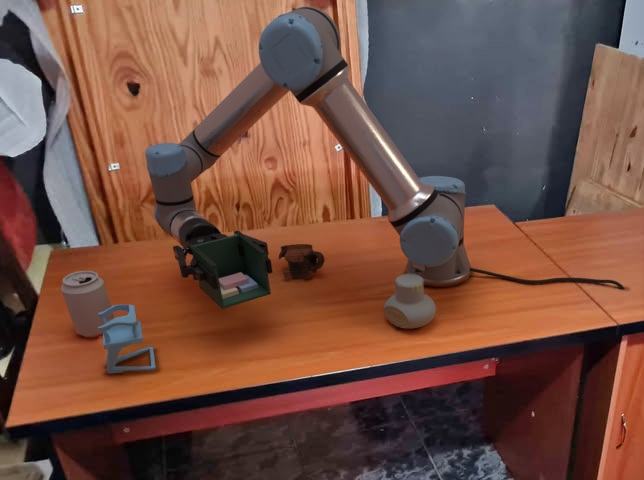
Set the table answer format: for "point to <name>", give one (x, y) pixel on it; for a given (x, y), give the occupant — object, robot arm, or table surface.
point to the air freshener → (409, 303)
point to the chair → (122, 338)
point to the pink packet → (233, 281)
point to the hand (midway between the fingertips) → (243, 274)
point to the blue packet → (248, 286)
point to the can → (86, 301)
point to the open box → (233, 267)
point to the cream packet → (229, 292)
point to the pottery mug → (301, 260)
